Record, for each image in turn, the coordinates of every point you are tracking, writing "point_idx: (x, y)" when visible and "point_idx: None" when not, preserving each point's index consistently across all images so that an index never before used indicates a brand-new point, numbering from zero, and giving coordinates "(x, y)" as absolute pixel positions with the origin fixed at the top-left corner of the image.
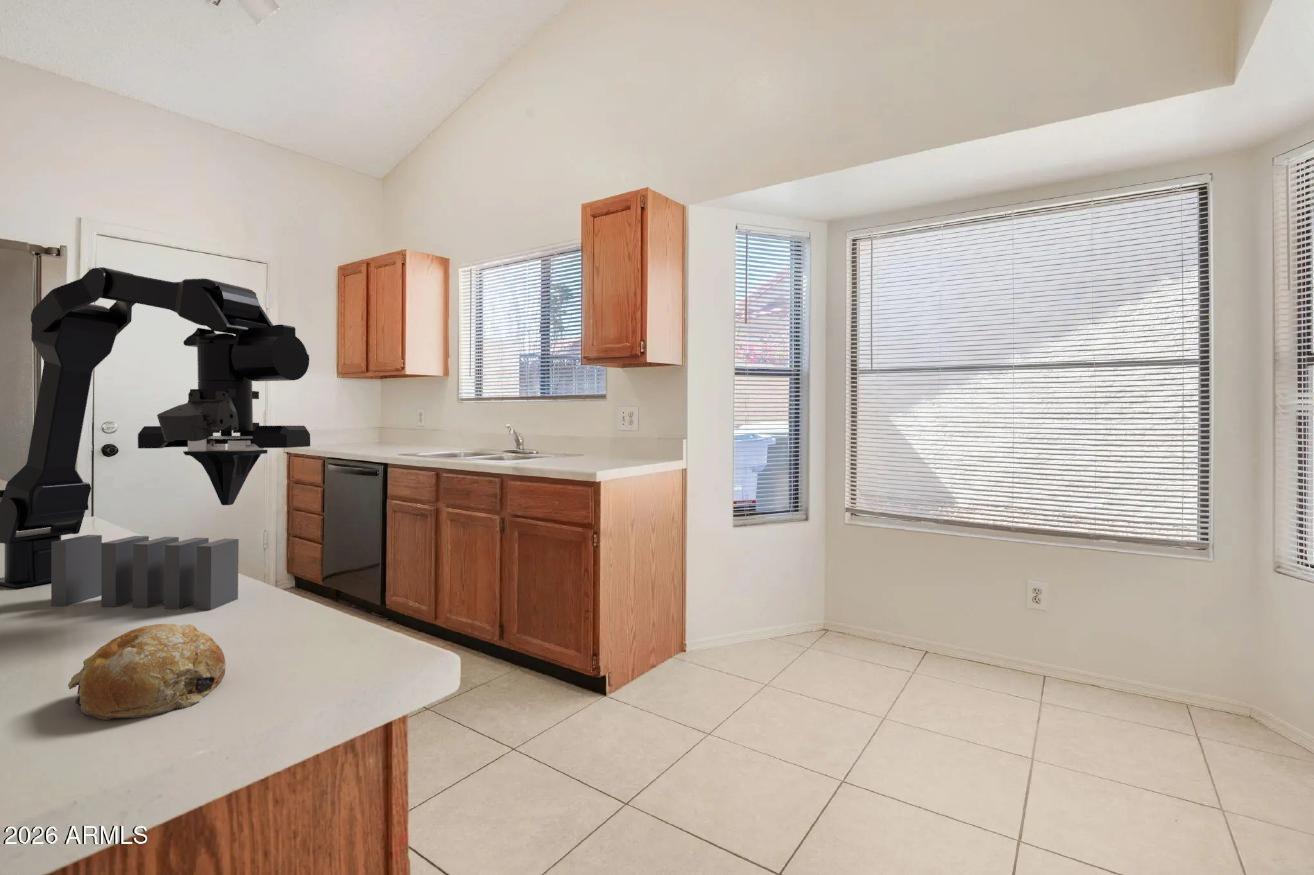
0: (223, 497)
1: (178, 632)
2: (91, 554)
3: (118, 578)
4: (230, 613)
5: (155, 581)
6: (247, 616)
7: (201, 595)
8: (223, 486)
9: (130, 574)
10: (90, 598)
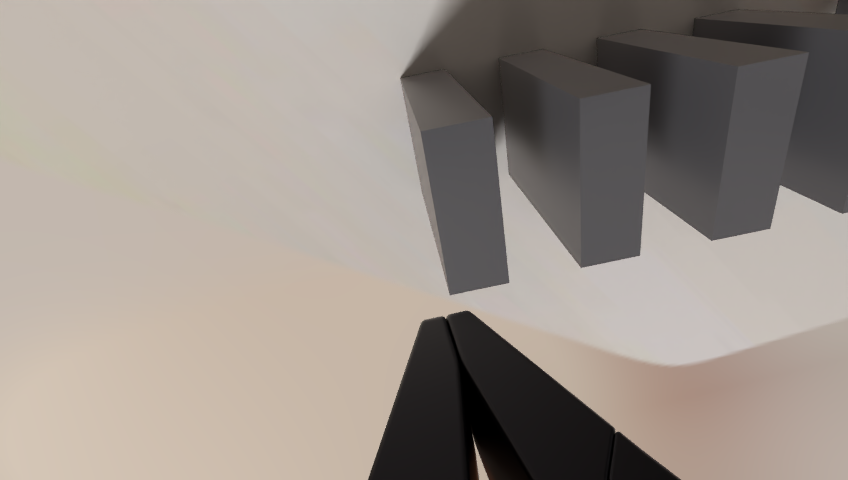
0: (457, 345)
1: None
2: None
3: (757, 35)
4: (316, 69)
5: None
6: (238, 58)
7: (434, 79)
8: (453, 409)
9: None
10: None
